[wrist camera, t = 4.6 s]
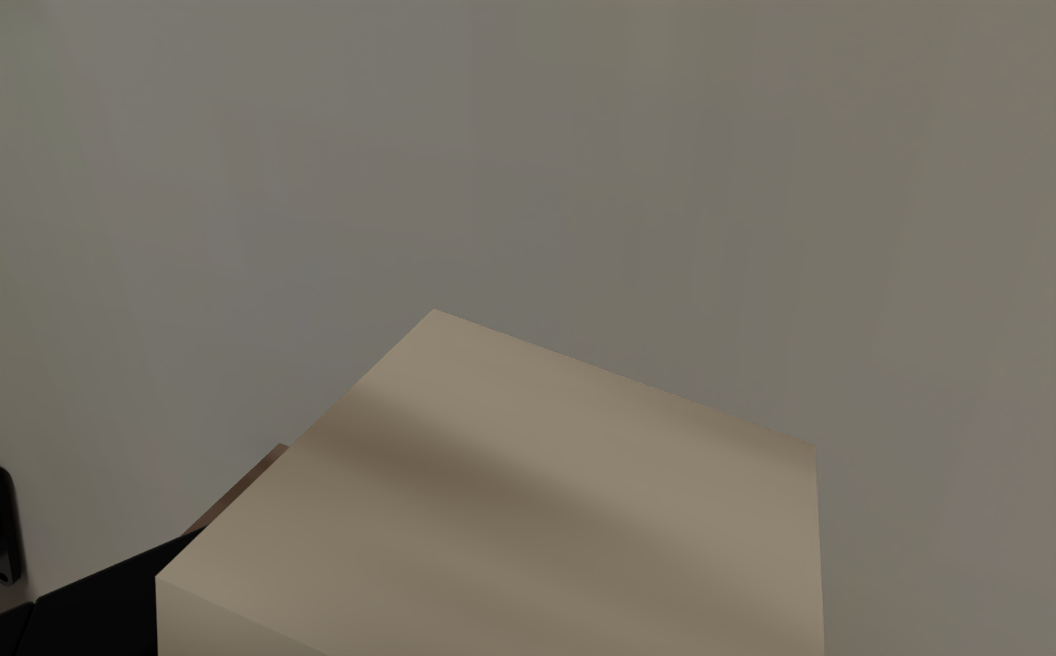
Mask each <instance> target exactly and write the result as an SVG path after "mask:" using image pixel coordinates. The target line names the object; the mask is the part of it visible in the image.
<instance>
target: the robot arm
mask: <svg viewBox="0 0 1056 656" xmlns="http://www.w3.org/2000/svg"><path fill="white" fill-rule="evenodd" d="M208 525H209V524H208ZM208 525H206V526H204V527H201V528H199V529H197V530H194V531H192V532H190V533H187V534H185V535H183V536H180V537H178V538H176V539H173V540H171V541H169V542H166V543H164V544H162V545H159V546H157V547H155V548H152V549H150V550H148V551H145V552H143V553H141V554H138V555H136V556H134V557H131V558H129V559H127V560H124V561H122V562H120V563H117V564H115V565H113V566H110V567H108V568H106V569H103V570H101V571H99V572H96V573H94V574H92V575H90V576H87V577H85V578H83V579H80V580H78V581H76V582H73V583H71V584H69V585H66V586H64V587H62V588H59V589H57V590H55V591H52V592H50V593H48V594H45V595H43V596H41V597H39V598H38V599H37V600H36V602H35V604H34V603H33V602H30V601H29V602H26V603H24V604H21V605H19V606H17V607H14V608H12V609H10V610H7V611H5V612H3V613H0V656H158V636H157V608H156V579H155V576H156V575H158V574H159V573H160V572H161V571H162V570H163V569H164V568H165V567H166V566H167V565H168V564H169V563H170V562H171V561H172V560H173V559H174V558H175V557H176V556H177V555H178V554H179V553H180V552H181V551H182V550H183V549H185V548H186V547H187V546H188V545H189V544H190V543H191V542H192V541H193V540H194V539H195V538H196V537H197V536H198V535H199V534H200V533H201V532H202V531H203V530H204V529H205V528H206V527H207V526H208ZM20 578H21V573H20V566H19V560H18V554H17V547H16V541H15V535H14V529H13V522H12V516H11V510H10V504H9V497H8V491H7V485H6V479H5V476H4V474H3V472H2V471H1V470H0V583H1V584H3V585H5V586H12V585H13V584H14V583H15V582H17V581H18V580H19V579H20Z"/></svg>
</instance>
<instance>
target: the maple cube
mask: <svg viewBox="0 0 1056 656" xmlns="http://www.w3.org/2000/svg"><path fill="white" fill-rule="evenodd" d="M155 579H156V608H157V636H158V656H825V647H824V626H823V605H822V585H821V564H820V543H819V522H818V501H817V480H816V459H815V445H812V444H810V443H807V442H804V441H801V440H798V439H796V438H793V437H790V436H787V435H784V434H782V433H779V432H776V431H773V430H771V429H768V428H765V427H762V426H759V425H757V424H754V423H751V422H748V421H745V420H743V419H740V418H737V417H734V416H732V415H729V414H726V413H723V412H720V411H718V410H715V409H712V408H709V407H706V406H704V405H701V404H698V403H695V402H693V401H690V400H687V399H684V398H681V397H679V396H676V395H673V394H670V393H667V392H665V391H662V390H659V389H656V388H654V387H651V386H648V385H645V384H642V383H640V382H637V381H634V380H631V379H628V378H626V377H623V376H620V375H617V374H615V373H612V372H609V371H606V370H603V369H601V368H598V367H595V366H592V365H590V364H587V363H584V362H581V361H578V360H576V359H573V358H570V357H567V356H564V355H562V354H559V353H556V352H553V351H551V350H548V349H545V348H542V347H539V346H537V345H534V344H531V343H528V342H525V341H523V340H520V339H517V338H514V337H512V336H509V335H506V334H503V333H500V332H498V331H495V330H492V329H489V328H486V327H484V326H481V325H478V324H475V323H473V322H470V321H467V320H464V319H461V318H459V317H456V316H453V315H450V314H447V313H445V312H442V311H439V310H436V309H433V310H432V311H431V312H430V313H429V314H428V315H427V316H426V317H425V318H423V319H422V320H421V321H420V322H419V323H418V324H417V325H416V326H415V327H414V328H413V329H412V330H411V331H410V332H409V333H408V334H407V335H406V336H405V337H404V338H403V339H402V340H401V341H400V342H399V343H397V344H396V345H395V346H394V347H393V348H392V349H391V350H390V351H389V352H388V353H387V354H386V355H385V356H384V357H383V358H382V359H381V360H380V361H379V362H378V363H377V364H376V365H375V366H374V367H373V368H372V369H370V370H369V371H368V372H367V373H366V374H365V375H364V376H363V377H362V378H361V379H360V380H359V381H358V382H357V383H356V384H355V385H354V386H353V387H352V388H351V389H350V390H349V391H348V392H347V393H346V394H345V395H343V396H342V397H341V398H340V399H339V400H338V401H337V402H336V403H335V404H334V405H333V406H332V407H331V408H330V409H329V410H328V411H327V412H326V413H325V414H324V415H323V416H322V417H321V418H320V419H319V420H317V421H316V422H315V423H314V424H313V425H312V426H311V427H310V428H309V429H308V430H307V431H306V432H305V433H304V434H303V435H302V436H301V437H300V438H299V439H298V440H297V441H296V442H295V443H294V444H293V445H292V446H290V447H289V448H288V449H287V450H286V451H285V452H284V453H283V454H282V455H281V456H280V457H279V458H278V459H277V460H276V461H275V462H274V463H273V464H272V465H271V466H270V467H269V468H268V469H267V470H266V471H265V472H263V473H262V474H261V475H260V476H259V477H258V478H257V479H256V480H255V481H254V482H253V483H252V484H251V485H250V486H249V487H248V488H247V489H246V490H245V491H244V492H243V493H242V494H241V495H240V496H239V497H237V498H236V499H235V500H234V501H233V502H232V503H231V504H230V505H229V506H228V507H227V508H226V509H225V510H224V511H223V512H222V513H221V514H220V515H219V516H218V517H217V518H216V519H215V520H214V521H213V522H212V523H210V524H209V525H208V526H207V527H206V528H205V529H204V530H203V531H202V532H201V533H200V534H199V535H198V536H197V537H196V538H195V539H194V540H193V541H192V542H191V543H190V544H189V545H188V546H187V547H186V548H185V549H183V550H182V551H181V552H180V553H179V554H178V555H177V556H176V557H175V558H174V559H173V560H172V561H171V562H170V563H169V564H168V565H167V566H166V567H165V568H164V569H163V570H162V571H161V572H160V573H159V574H158V575H156V576H155Z"/></svg>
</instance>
